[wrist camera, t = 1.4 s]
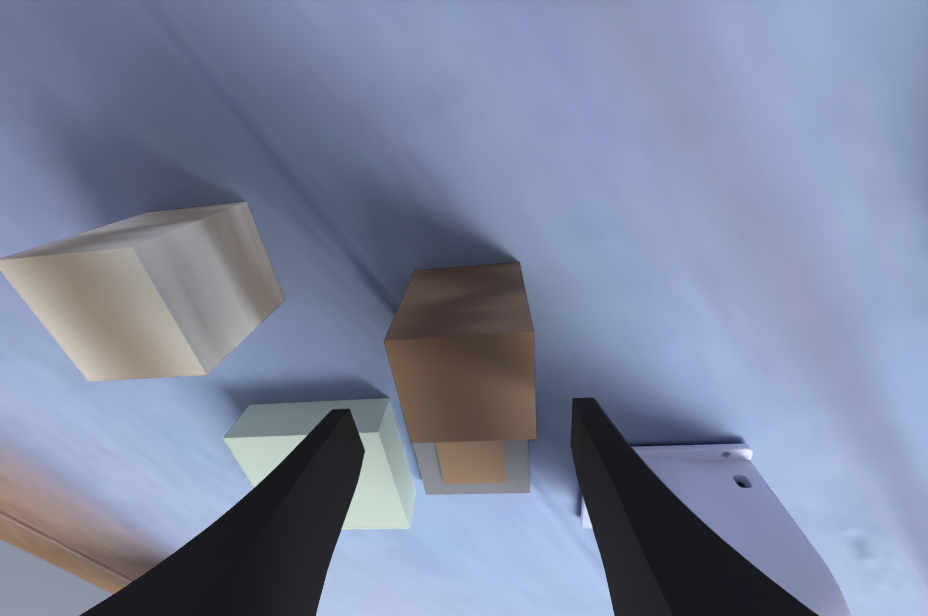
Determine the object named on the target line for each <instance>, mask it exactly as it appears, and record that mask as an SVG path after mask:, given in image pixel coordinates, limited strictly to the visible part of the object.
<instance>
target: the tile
mask: <svg viewBox="0 0 928 616" xmlns="http://www.w3.org/2000/svg"><path fill="white" fill-rule="evenodd" d="M413 447H414V451H415V454H416V458H417V462H418V466H419V469H420V473H421V477H422V481H423V485H424V488H425V492H426V494H490V493H530V473H529V449H528V440H498V441H468V442H438V443H413Z"/></svg>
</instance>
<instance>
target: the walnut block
mask: <svg viewBox="0 0 928 616" xmlns="http://www.w3.org/2000/svg"><path fill="white" fill-rule="evenodd" d="M384 344H385V348H386V352H387V355H388V359H389V363H390V366H391V370H392V374H393V378H394V381H395V385H396V389H397V393H398V396H399V400H400V404H401V407H402V411H403V415H404V419H405V422H406V426H407V430H408V434H409V437H410V441H411V443H438V442H468V441H498V440H529V439H537V436H536V398H535V359H534V330H533V325H532V320H531V315H530V310H529V305H528V301H527V296H526V291H525V286H524V281H523V276H522V271H521V266H520V262H513V263H501V264H489V265H477V266H466V267H454V268H442V269H430V270H418V271H415V272H414V274H413V276H412V278H411V281H410V283H409V285H408V287H407V290H406V292H405V294H404V296H403V299H402V301H401V303H400V305H399V308H398V310H397V312H396V315H395V317H394V319H393V321H392V324H391V326H390V328H389V330H388V333H387V335H386V337H385V339H384Z"/></svg>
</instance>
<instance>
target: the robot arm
mask: <svg viewBox="0 0 928 616" xmlns="http://www.w3.org/2000/svg"><path fill="white" fill-rule="evenodd" d="M571 448H572V453H573V459H574V464H575V469H576V474H577V478H578V482H579V485H580V488H581V492H582V505H581V519H580V520H581V524H582V526H583V527H585V528H593V531H594V535H595V538H596V541H597V544H598V548H599V551H600V554H601V558H602V562H603V566H604V569H605V573H606V578H607V582H608V587H609V592H610V596H611V601H612V606H613V610H614V615H615V616H851V614H850V611H849V609H848V606H847V603H846V601H845V599H844V596H843V594H842V592H841V590H840V588H839V586H838V584H837V582H836V580H835V578H834V577H833V575H832V573H831V572H830V570H829V568H828V567H827V565H826V564H825V562H824V561H823V559H822V558H821V556H820V555H819V554H818V552H817V551H816V550H815V548H814V547H813V546H812V544H811V543H810V541H809V540H808V539H807V537H806V536H805V535H804V533H803V532H802V531H801V529H800V528H799V526H798V525H797V524H796V522H795V521H794V520H793V518H792V517H791V516H790V514H789V513H788V512H787V510H786V509H785V507H784V506H783V505H782V503H781V502H780V501H779V499H778V498H777V497H776V495H775V494H774V493H773V491H772V490H771V488H770V487H769V486H768V484H767V483H766V482H765V480H764V479H763V478H762V476H761V475H760V474H759V472H758V471H757V469H756V468H755V467H754V465H753V464H752V463H751V461H750V459H751V457H752V454H753V451H752V449H751V448H750V447H749V445H747V444H710V445H675V446H639V447H631V445H630V444H629V443H628V442H627V441H626V439H625V438H624V437H623V436H622V435H621V433H620V432H619V431H618V429H617V428H616V427H615V426H614V424H613V423H612V422H611V420H610V419H609V418H608V416H607V415H606V413H605V412H604V411H603V409H602V408H601V406H600V405H599V404H598V402H597V401H596V400H595V399H594V398H573V403H572V426H571ZM364 454H365V449H364V446H363V443H362V441H361V438H360V435H359V432H358V430H357V427H356V424H355V421H354V419H353V416H352V413H351V410H350V408H348V409H332V410H331V411H330V412H329V413H328V414H327V415H326V416H325V417H324V418H323V419H322V420H321V421H320V422H319V423H318V424H317V425H316V427H315V428H314V429H313V430H312V431H311V432H310V433H309V434H308V435H307V436H306V437H305V438H304V439H303V440H302V441H301V442H300V443H299V444H298V445H297V446H296V447H295V448H294V449H293V451H292V452H291V453H290V454H289V455H288V456H287V457H286V458H285V459H284V460H283V461H282V462H281V463H280V464H279V465H278V466H277V467H276V468H275V469H273V470H272V471H271V472H270V473H269V474H268V475H267V476H266V477H265V478H264V479H263V480H262V481H261V482H260V483H259V484H258V485H257V486H256V487H255V488H254V489H253V490H251V491H250V492H249V493H248V494H247V495H246V496H245V497H244V498H243V499H241V500H240V501H239V502H238V503H237V504H236V505H234V506H233V507H232V508H231V509H230V510H229V511H227V512H226V513H225V514H224V515H223V516H221V517H220V518H219V519H218V520H217V521H215V522H214V523H213V524H212V525H210V526H209V527H208V528H206V529H205V530H204V531H203V532H201V533H200V534H199V535H197V536H196V537H195V538H193V539H192V540H191V541H189V542H188V543H187V544H185V545H184V546H183V547H181V548H180V549H179V550H177V551H176V552H175V553H174V554H172V555H171V556H169V557H168V558H167V559H165V560H164V561H162V562H161V563H159V564H158V565H157V566H155V567H154V568H152V569H151V570H149V571H148V572H147V573H145V574H144V575H142V576H141V577H139V578H138V579H136V580H135V581H133V582H132V583H130V584H129V585H127V586H126V587H124V588H123V589H121V590H120V591H118V592H117V593H115V594H113V595H112V596H110V597H109V598H107V599H106V600H104V601H102V602H101V603H99V604H97V605H96V606H94V607H93V608H91V609H89V610H88V611H86V612H85V613H83V614H81V615H80V616H316V612H317V608H318V604H319V600H320V596H321V593H322V589H323V585H324V581H325V577H326V573H327V570H328V567H329V564H330V560H331V557H332V554H333V551H334V549H335V546H336V543H337V540H338V537H339V535H340V532H341V529H342V526H343V523H344V521H345V518H346V515H347V512H348V510H349V507H350V504H351V501H352V498H353V495H354V492H355V490H356V487H357V484H358V480H359V476H360V472H361V468H362V463H363V458H364Z"/></svg>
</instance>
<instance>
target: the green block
mask: <svg viewBox="0 0 928 616" xmlns="http://www.w3.org/2000/svg"><path fill="white" fill-rule="evenodd" d="M348 408H350V410H351V413H352V416H353V419H354V421H355V424H356V427H357V430H358V432H359V435H360V438H361V441H362V443H363V446H364V449H365V454H364V458H363V463H362V468H361V472H360V476H359V480H358V484H357V487H356V490H355V492H354V495H353V498H352V501H351V504H350V507H349V510H348V512H347V515H346V518H345V521H344V523H343V526H342V529H341V530H343V529H410V526H411V520H412V515H413V509H414V504H415V498H416V493H417V492H416V488H415V485H414V481H413V478H412V474H411V471H410V467H409V464H408V460H407V457H406V453H405V450H404V446H403V443H402V439H401V436H400V432H399V429H398V425H397V422H396V418H395V415H394V411H393V408H392V405H391V401H390V398H379V399H357V400H336V401H315V402H294V403H272V404H251V405H249V406H248V407H247V409H246V410H245V411H244V412H243V414H242V415H241V416H240V417H239V419H238V420H237V421H236V422H235V424H234V425H233V426H232V428H231V429H230V430H229V431H228V433H227V434H226V435H225V436H224V438H223V439H224V441H225V442H226V444H227V445H228V447H229V449H230V450H231V452H232V453H233V455H234V456H235V458H236V460H237V461H238V463H239V464H240V466H241V468H242V469H243V471H244V472H245V474H246V475H247V477H248V479H249V480H250V482H251V483H252V485H253V487H254V488H255V487H256V486H257V485H258V484H259V483H260V482H261V481H262V480H263V479H264V478H265V477H266V476H267V475H268V474H269V473H270V472H271V471H272V470H273V469H275V468H276V467H277V466H278V465H279V464H280V463H281V462H282V461H283V460H284V459H285V458H286V457H287V456H288V455H289V454H290V453H291V452H292V451H293V449H294V448H295V447H296V446H297V445H298V444H299V443H300V442H301V441H302V440H303V439H304V438H305V437H306V436H307V435H308V434H309V433H310V432H311V431H312V430H313V429H314V428H315V427H316V425H317V424H318V423H319V422H320V421H321V420H322V419H323V418H324V417H325V416H326V415H327V414H328V413H329V412H330V411H331V410H332V409H348Z"/></svg>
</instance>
